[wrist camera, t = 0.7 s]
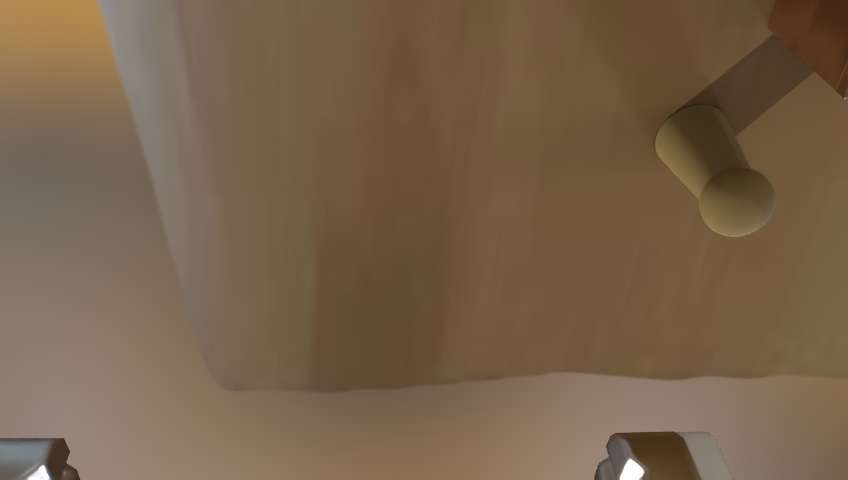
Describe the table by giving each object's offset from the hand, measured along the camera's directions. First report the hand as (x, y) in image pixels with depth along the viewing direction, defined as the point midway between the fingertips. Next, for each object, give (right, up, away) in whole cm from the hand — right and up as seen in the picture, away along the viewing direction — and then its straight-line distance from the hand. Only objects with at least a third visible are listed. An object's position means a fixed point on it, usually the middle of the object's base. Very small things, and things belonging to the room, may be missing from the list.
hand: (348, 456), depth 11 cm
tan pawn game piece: (+23, +12, +49) cm, 56 cm away
